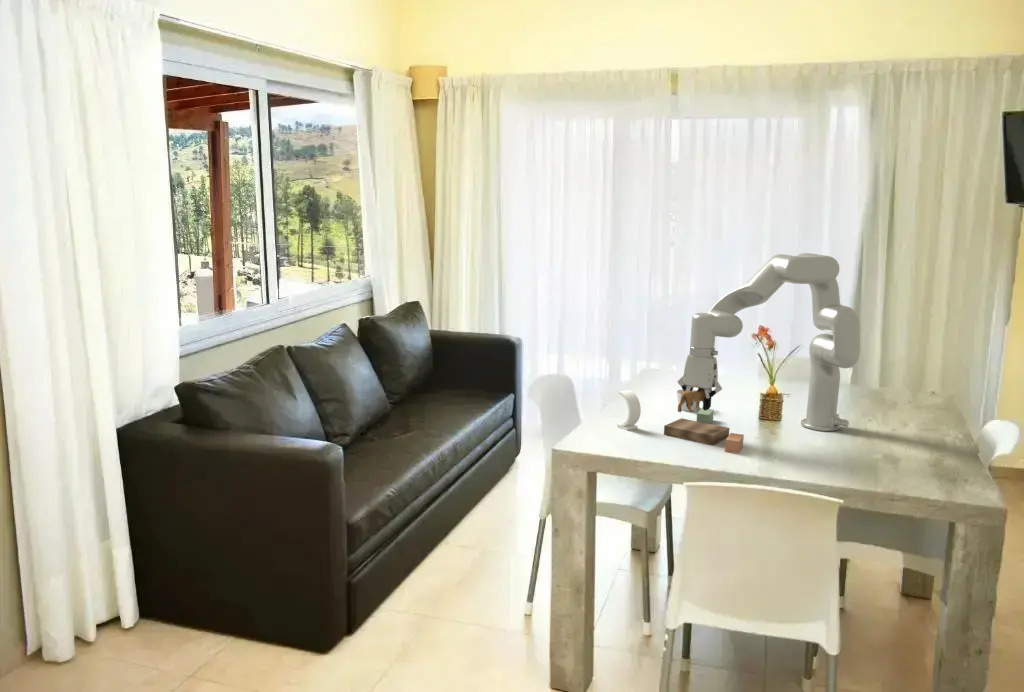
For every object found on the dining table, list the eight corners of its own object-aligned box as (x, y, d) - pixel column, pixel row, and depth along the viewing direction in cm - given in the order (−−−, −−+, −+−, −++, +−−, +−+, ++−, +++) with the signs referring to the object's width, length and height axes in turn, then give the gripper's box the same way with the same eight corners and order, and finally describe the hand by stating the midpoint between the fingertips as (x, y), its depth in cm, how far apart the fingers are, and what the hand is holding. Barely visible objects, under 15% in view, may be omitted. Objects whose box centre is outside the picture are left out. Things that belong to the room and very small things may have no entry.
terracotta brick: (729, 445, 265) (730, 432, 264) (742, 447, 264) (743, 434, 263) (724, 452, 258) (725, 439, 257) (738, 454, 256) (739, 441, 256)
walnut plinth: (728, 436, 273) (729, 427, 273) (712, 445, 264) (713, 436, 263) (680, 426, 283) (681, 418, 283) (663, 434, 274) (664, 425, 273)
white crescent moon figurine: (627, 424, 284) (629, 390, 282) (639, 429, 280) (641, 393, 277) (617, 426, 282) (618, 391, 280) (629, 431, 277) (630, 395, 275)
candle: (684, 404, 313) (686, 388, 312) (705, 409, 306) (707, 392, 305) (670, 408, 306) (671, 391, 305) (691, 413, 300) (693, 396, 299)
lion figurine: (700, 406, 278) (701, 378, 276) (714, 408, 274) (715, 381, 272) (672, 412, 268) (673, 384, 267) (686, 415, 264) (687, 387, 263)
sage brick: (701, 419, 294) (702, 407, 294) (713, 420, 293) (713, 409, 292) (696, 424, 287) (697, 413, 286) (708, 426, 286) (708, 414, 285)
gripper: (732, 354, 266) (727, 410, 270) (682, 347, 277) (679, 401, 280) (722, 357, 260) (717, 415, 264) (671, 350, 271) (668, 405, 274)
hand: (697, 407), depth 272 cm, fingers closed on lion figurine, 5 cm apart
